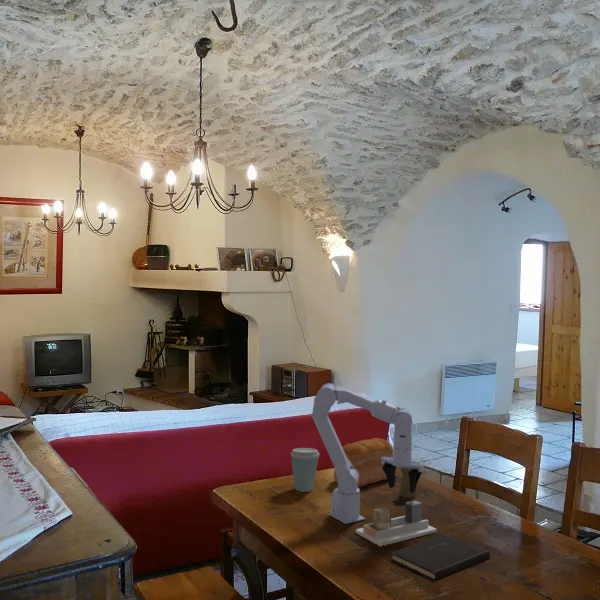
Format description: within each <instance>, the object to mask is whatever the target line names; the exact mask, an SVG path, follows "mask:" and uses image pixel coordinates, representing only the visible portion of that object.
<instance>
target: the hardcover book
mask: <svg viewBox="0 0 600 600" xmlns="http://www.w3.org/2000/svg"><path fill="white" fill-rule="evenodd" d="M390 554H391V556H392V557H391V558H392V560H393V559H394V561H396V562H398V563H400V564H402V563H403V564H402V565H403V566H406V565H407V566H406V567H408V568H410V569H413V570H414V569H415V570H414V571H416V570H417V572H419V573H421V574H423V575H425V576H427V577H429V578H431V579H433V580H438V579H441V578H443V577H446V576H449V575H451V574H453V573H455V572H456V573H457V572H458V571H461V570H463V569H465V568H468V567H470V566H473V565H475V564H478V563H480V562H482V561H485V560H487V559H490V558H491V557H490V556H491V554H490V551H488V550H487V549H485V548H482V547H479V546H478V545H477V546H476V545H475V544H472V543H469V542H467V541H465V540H462V539H460V538H457V537H454V536H452V535H449V534H447V533H444V534H441V535H438V536H435V537H432V538H429V539H426V540H424V541H421V542H418V543H416V544H412V545H410V546H407V547H404V548H401V549H398V550H396V551H392V552H390Z"/></svg>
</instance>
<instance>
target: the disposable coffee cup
mask: <svg viewBox="0 0 600 600" xmlns="http://www.w3.org/2000/svg"><path fill="white" fill-rule="evenodd" d="M290 457H291V465H292V467H291V468H292V477H293V485H294V488H295V491H298V492H303V493H306V492H307V493H308V492H311V491H312V490H313V488H314V483H315V477H316V473H317V466H318V461H319V457H320V452H319V450H318V449H315V448H312V447H310V448H308V447H297V448H293V449H292V450H291V452H290Z"/></svg>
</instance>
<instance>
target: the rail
mask: <svg viewBox="0 0 600 600" xmlns="http://www.w3.org/2000/svg"><path fill="white" fill-rule="evenodd" d="M429 523H430V522H429V520H428V519H423V502H420V501H418V500H411V501H407V502H405V506H404V515H402V516H401V515H400V516H396V517H393V518H392V517H391V528H389V529H385V530H380V531H377V530H375V529H374V522H370V523H367V524H363V525H362V527H359V528H356V529H355V533H356V534H357V535H359V536H361V537H362V538H364V539H366V540H367V541H369V540H370V541H369V542H371V543H373V544H375V545H376V544H377V546H378V545H379V546H378V547H383V545H384V546H388V545H391V544H395V543H400V542H403V541H406V540H411V539H414V538H417V537H423V536H426V535H431V534H435V533H437V528H435V527H433V526H432V525H429ZM387 544H388V545H387Z"/></svg>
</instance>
